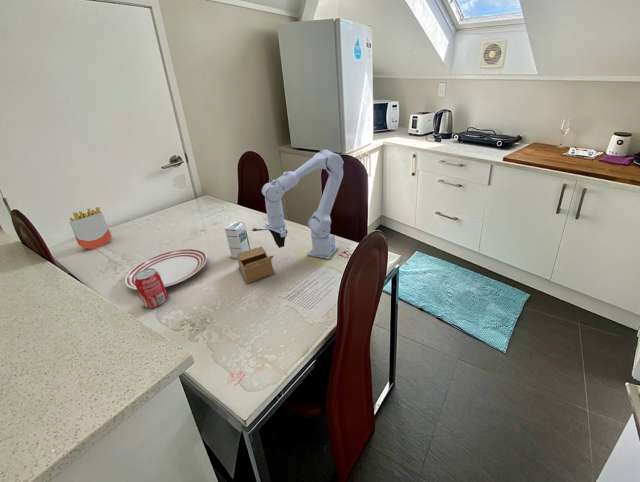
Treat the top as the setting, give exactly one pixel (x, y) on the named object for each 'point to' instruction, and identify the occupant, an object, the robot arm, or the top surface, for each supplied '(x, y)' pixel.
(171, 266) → the dinner plate
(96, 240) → the french fries container
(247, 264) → the bin flap
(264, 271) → the bin
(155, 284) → the soda can
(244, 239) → the syrup box
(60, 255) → the top surface
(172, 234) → the top surface
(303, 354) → the top surface
